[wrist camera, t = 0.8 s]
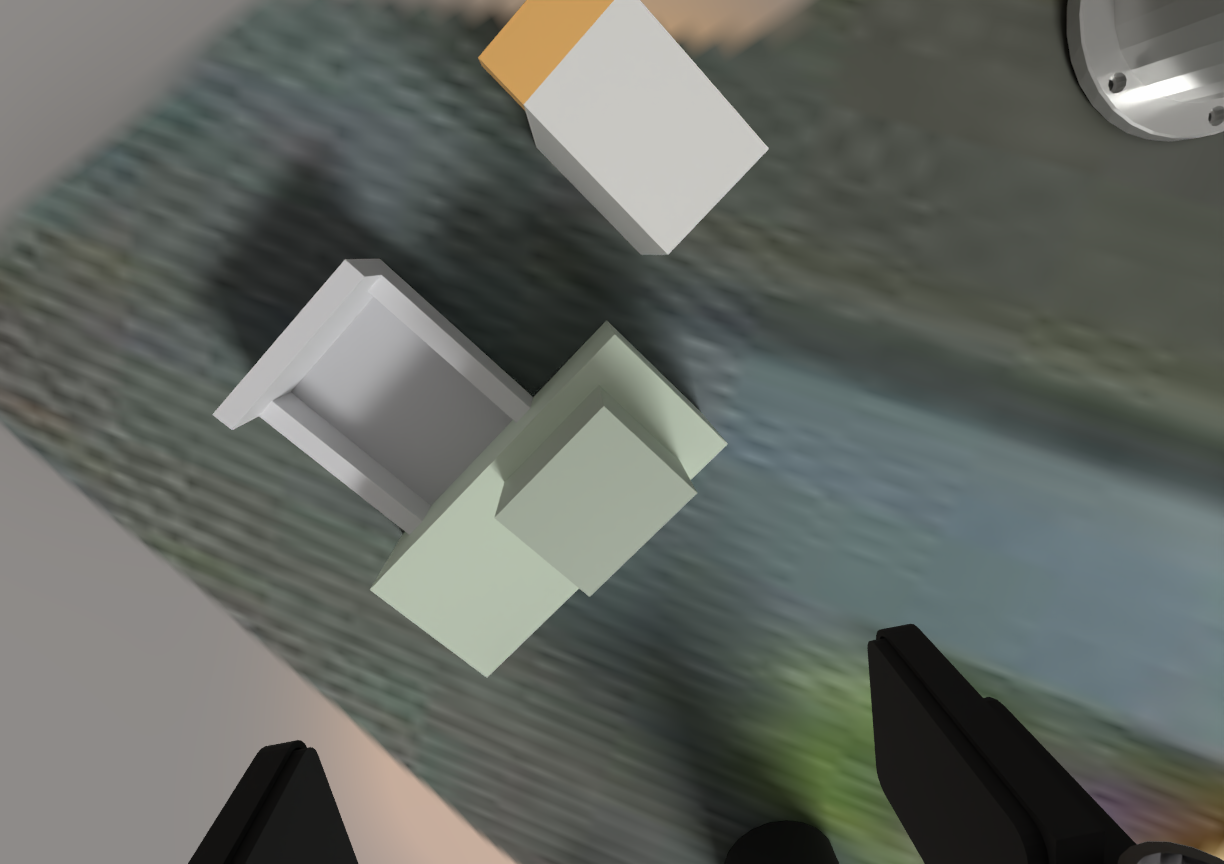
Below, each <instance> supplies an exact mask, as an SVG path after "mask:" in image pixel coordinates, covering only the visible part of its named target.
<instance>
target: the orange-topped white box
mask: <svg viewBox="0 0 1224 864" xmlns="http://www.w3.org/2000/svg"><path fill="white" fill-rule="evenodd" d="M478 58H479V60H480V63H481V65H482V67H483V68H484V69H485V70H486V71H487V72H488V73H489V74H490V75H491V76H492V77H493V78H494V79H495V80H496V81H497V82H498V83H499V84H500V85H501V86H502V87H503V88H504V89H505V90H506V91H507V92H508V93H509V95H510V96H511V97H512V98H513V99H514V100H515V101H516V102H517V103H518V104H519V105H520V106H521V107H522V108H523V109H524V110H525V111H526V115H527V118H528V121H529V125H530V128H531V131H532V135H533V138H534V141H535V145H536V148H537V149H538V150H539V151H540V152H541V153H542V154H543V155H544V156H545V157H546V158H547V159H548V160H549V161H550V162H551V163H552V164H553V165H554V166H555V167H556V168H557V169H558V170H559V171H560V172H561V173H562V174H563V175H564V176H565V177H566V178H567V179H568V180H569V181H570V182H571V183H572V184H573V185H574V186H575V188H576V189H577V190H578V191H579V192H580V193H581V194H582V195H583V196H584V197H585V198H586V199H587V200H588V201H589V202H590V203H591V204H592V205H593V206H594V207H595V208H596V209H597V210H598V211H599V212H600V213H601V214H602V215H603V216H604V217H605V218H606V219H607V220H608V221H609V222H610V223H611V224H612V225H613V226H614V227H615V229H616V230H617V231H618V232H619V233H620V234H621V235H622V236H623V237H624V238H625V239H626V240H627V241H628V242H629V243H630V244H631V245H632V246H633V247H634V248H635V249H636V250H637V251H638V252H639V253H640V254H641V255H668V254H669V253H670V252H671V251H672V250H673V249H674V248H675V247H676V246H677V245H678V244H679V243H680V242H681V240H682V239H683V238H684V237H685V236H686V235H687V234H688V233H689V232H690V231H691V230H692V229H693V228H694V227H695V226H696V225H697V224H698V223H699V222H700V221H701V219H702V218H703V217H704V216H705V215H706V214H707V213H708V212H709V211H710V210H711V209H712V208H713V207H714V206H715V205H716V204H717V203H718V202H719V201H720V200H721V198H722V197H723V196H724V195H725V194H726V193H727V192H728V191H729V190H730V189H731V188H732V187H733V186H734V185H735V184H736V183H737V182H738V181H739V180H740V179H741V177H742V176H743V175H744V174H745V173H746V172H747V171H748V170H749V169H750V168H751V167H752V166H753V165H754V164H755V163H756V162H757V161H758V160H759V159H760V158H761V156H762V155H763V154H764V153H765V152H766V151H767V150H768V149H769V148H768V147H767V146H766V145H765V144H764V143H763V141H762V140H761V139H760V138H759V137H758V136H757V134H756V133H755V132H754V131H753V130H752V129H751V128H750V126H749V125H748V124H747V123H746V122H745V121H744V119H743V118H742V117H741V116H740V115H739V114H738V113H737V111H736V110H735V109H734V108H733V107H732V106H731V104H730V103H729V102H728V101H727V100H726V99H725V98H724V96H723V95H722V94H721V93H720V92H719V91H718V89H717V88H716V87H715V86H714V85H713V84H712V83H711V81H710V80H709V79H708V78H707V77H706V76H705V74H704V73H703V72H702V71H701V70H700V69H699V68H698V66H697V65H696V64H695V63H694V62H693V61H692V59H691V58H690V57H689V56H688V55H687V54H686V52H685V51H684V50H683V49H682V48H681V47H680V46H679V44H678V43H677V42H676V41H675V40H674V39H673V37H672V36H671V35H670V34H669V33H668V32H667V31H666V29H665V28H664V27H663V26H662V25H661V24H660V22H659V21H658V20H657V19H656V18H655V17H654V16H653V14H652V13H651V12H650V11H649V10H648V9H647V7H646V6H645V5H644V4H643V3H642V2H641V1H640V0H526V1H525V3H524V4H523V5H522V6H521V7H520V9H519V10H518V11H517V12H516V13H515V14H514V16H513V17H512V18H511V19H510V20H509V22H508V23H507V24H506V25H505V26H504V28H503V29H502V30H501V31H500V32H499V33H498V35H497V36H496V37H495V38H494V39H493V41H492V42H491V43H490V44H489V45H488V47H487V48H486V49H485V50H484V51H483V52H482V54H481V55H480V56H479V57H478Z"/></svg>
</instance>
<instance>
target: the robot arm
mask: <svg viewBox="0 0 1224 864" xmlns="http://www.w3.org/2000/svg"><path fill="white" fill-rule="evenodd" d="M1067 40H1068V46H1069V52H1070V58H1071V63H1072V65H1073V68H1074V71H1075V74H1076V76H1077V79H1078V82H1079V85H1080V86H1081V88H1082V90H1083V91H1084V93H1085V94H1086V96H1087V98H1088V99H1089V101H1090V103H1091V104H1092V106H1093V107H1094V108H1095V109H1096V110H1097V111H1098V112H1099V113H1100V114H1101V115H1102V116H1103V117H1104V118H1105V119H1106V120H1107V121H1108V122H1110V123H1112V124H1113V125H1115V126H1116V127H1118V128H1120V129H1121V130H1123V131H1125V132H1126V133H1128V134H1132V135H1135V136H1138V137H1141V138H1144V139H1147V140H1157V141H1170V142H1171V141H1178V140H1186V139H1193V138H1199V137H1203V136H1208V135H1213V134H1217V133H1220V132H1223V131H1224V0H1068V3H1067ZM868 661H869V674H870V688H871V701H872V715H873V728H874V742H875V755H876V768H877V774H878V778H879V781H880V784H881V787H882V789H883V791H884V793H885V795H886V797H887V799H888V801H889V802H890V804H891V806H892V807H893V809H894V811H895V813H896V814H897V816H898V818H899V820H900V821H901V823H902V825H903V827H904V828H905V830H906V832H907V833H908V835H909V837H910V839H911V840H912V842H913V844H914V846H915V847H916V849H917V851H918V852H919V854H920V856H921V858H922V859H923V861H924V863H925V864H1224V861H1223V860H1221V859H1220V858H1218V857H1215V856H1213V855H1210V854H1208V853H1205V852H1203V851H1201V850H1198V849H1196V848H1193V847H1189V846H1185V845H1180V844H1176V843H1172V842H1144V843H1140V844H1136V843H1135V842H1134V841H1133V840H1132V839H1131V838H1130V837H1129V836H1128V835H1127V834H1126V833H1125V832H1124V831H1123V830H1122V829H1121V828H1120V827H1119V826H1118V825H1117V824H1116V822H1115V821H1114V820H1113V819H1112V818H1111V817H1110V816H1109V815H1108V814H1107V813H1106V812H1105V811H1104V810H1103V809H1102V808H1101V807H1100V806H1099V805H1098V804H1097V803H1096V801H1095V800H1094V799H1093V798H1092V797H1091V796H1090V795H1089V794H1088V793H1087V792H1086V791H1085V790H1084V789H1083V788H1082V787H1081V786H1080V785H1079V784H1078V783H1077V782H1076V781H1075V779H1074V778H1073V777H1072V776H1071V775H1070V774H1069V773H1068V772H1067V771H1066V770H1065V769H1064V768H1063V767H1062V766H1061V765H1060V764H1059V763H1058V762H1057V761H1056V760H1055V758H1054V757H1053V756H1052V755H1051V754H1050V753H1049V752H1048V751H1047V750H1046V749H1045V748H1044V747H1043V746H1042V745H1041V744H1040V743H1039V742H1038V741H1037V740H1036V739H1035V738H1034V736H1033V735H1032V734H1031V733H1030V732H1029V731H1028V730H1027V729H1026V728H1025V727H1024V726H1023V725H1022V724H1021V723H1020V722H1019V721H1018V720H1017V719H1016V718H1015V717H1014V715H1013V714H1012V713H1011V712H1010V711H1009V710H1008V709H1007V708H1006V707H1005V706H1004V705H1003V704H1001V703H1000V702H999V701H998V700H996V699H994V698H991V697H987V698H982V696H981V695H980V694H979V693H978V692H977V691H976V690H975V689H974V688H973V687H972V686H971V685H970V683H969V682H968V681H967V680H966V679H965V678H964V677H963V676H962V675H961V674H960V673H959V672H958V670H957V669H956V668H955V667H954V666H953V665H952V664H951V663H950V662H949V661H948V660H947V659H946V657H945V656H944V655H943V654H942V653H941V652H940V651H939V650H938V649H937V648H936V647H935V646H934V644H933V643H932V642H931V641H930V640H929V639H928V638H927V637H926V636H925V635H924V634H923V633H922V631H921V630H920V629H919V628H918V627H917V626H915V625H914V624H907V625H902V626H897V627H891V628H886V629H881V630H879V631H878V632H877V635H876V640H872V641H869V642H868ZM188 864H358V862H357V859H356V856H355V853H354V851H353V848H352V845H351V843H350V840H349V837H348V834H347V832H346V829H345V826H344V824H343V821H342V818H341V816H340V813H339V810H338V807H337V805H336V802H335V799H334V797H333V794H332V791H331V789H330V786H329V783H328V780H327V778H326V775H325V772H324V770H323V767H322V764H321V762H320V759H319V756H318V754H317V752H316V750H315V749H314V748H311V747H310V748H307V747H306V745H305V743H303V742H302V741H299V740H297V741H291V742H286V743H281V744H276V745H270V746H265V747H264V748H262V749H261V750H260V751H259V752H258V753H257V755H256V756H255V758H254V759H253V761H252V763H251V764H250V766H249V767H248V769H247V771H246V772H245V774H244V775H243V777H242V778H241V780H240V782H239V783H238V785H237V786H236V788H235V790H234V791H233V793H232V794H231V796H230V798H229V799H228V801H227V802H226V804H225V806H224V807H223V809H222V810H221V812H220V814H219V815H218V817H217V818H216V820H215V821H214V823H213V825H212V826H211V828H210V829H209V831H208V833H207V834H206V836H205V837H204V839H203V841H202V842H201V844H200V846H199V847H198V849H197V850H196V852H195V853H194V855H193V857H192V858H191V860H190V861H189V863H188Z"/></svg>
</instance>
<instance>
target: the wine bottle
mask: <svg viewBox="0 0 1224 864" xmlns="http://www.w3.org/2000/svg"><path fill="white" fill-rule="evenodd" d="M725 864H839V862H838V860H837V858H836V855H835V853H834V851H833V849H832V846H831V844H830V842H829V840H828V839H827V838H826V837H825V836H824V835H823V834H822V833H821V832H820V831H819V830H818V829H816V828H814V827H811V826H809V825H807V824H805V823H800V822H792V821H782V822H774V823H768V824H766V825H763V826H761V827H758V828H755V829H753V830H751V831H750V832H748V833H747V834H746V835H744V836H743V837H742V838H740V839H739V840H738V841H737V842H736V843H735V845H734V846H733V847H732V849H731V850H730V851H729V853H728V855H727V858H726V861H725Z"/></svg>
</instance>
